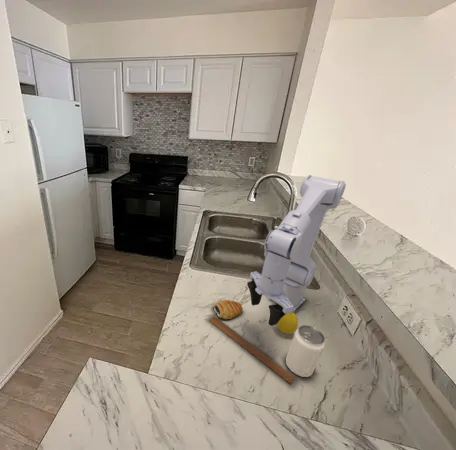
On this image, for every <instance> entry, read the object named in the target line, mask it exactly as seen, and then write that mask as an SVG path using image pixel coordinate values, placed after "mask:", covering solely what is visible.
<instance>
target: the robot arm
mask: <svg viewBox="0 0 456 450" xmlns="http://www.w3.org/2000/svg"><path fill="white" fill-rule="evenodd" d="M346 186H347V184H346V182H345V180H336V179H332V178H331V179H330V178H325V177H320V176H315V175H311V174H308V175H306V176H305V177H304V178H303V180H302V183H301V185H300V189H299V193H300V197H301V199H300V201H299V203H298V205H297V206H296V209H293V210H290V211H288V213H287V214H286V215H285V217H284V218H283V220H282V221H281V222H280V223H279V225H278V227H277V228H275V229H271V230H270V231H269V233H268V234H267V235H266V238H265V240H264V245H263V248H264V251H263V256H264V262H263V266H262V270H261V273H259V272H258V271H251V272H250V273H249V274H250V276H249V279H250V280H251V281H248V282H247V284H246V286H247V287H248V290H249V293H250V294H249V295H250V303H251V305H252V306H253V307H255V306H258V305H260V303H261V301H262V297H263V296H265V297H266V298H268V299H270V300H271V301H273V302H274V303H275V304H274V303H273V304H270V305H268V309H269V318H268V325H269V326H270V327H272V326H277V323H278V322H279V320H280V319H281V318H282V317H283V316H284V315H285V314H287V313H291V312H293V313H294V312H295V311H296V310H297V309H298V308H299V307H300V306H301V305H302V304H304V302H305V301H306V298H304V295H305V292H306V288H307V287H309V286H310V285H311V284H312V281H313V279H314V277H315V275H316V269H317V264H316V263H315V261H314V260H313V259H312V258H311V253H312V251H313V249H314V246H315V243H316V241H317V239H318V236H319V232H320V230H321V228H322V227H321V226H323V225H322V224H323V222H324V219H325V217H326V215H327V213H328V211H329V210H332V209H333V210H334V209H337V207H338V206H340V203H341V200H342V198H343V195H344V192H345V190H346Z"/></svg>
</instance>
